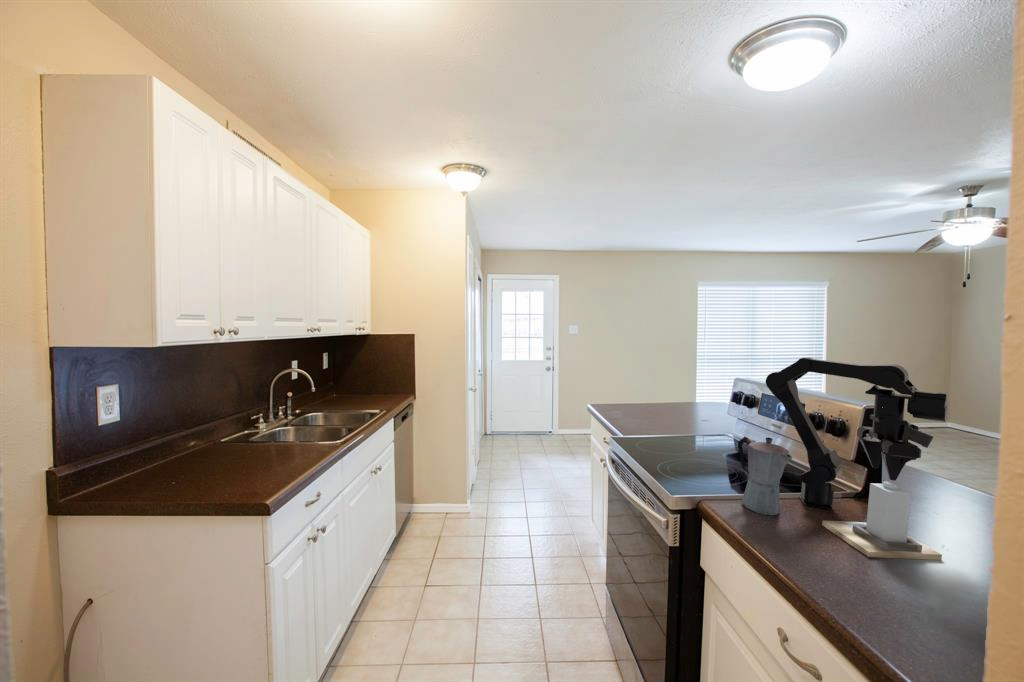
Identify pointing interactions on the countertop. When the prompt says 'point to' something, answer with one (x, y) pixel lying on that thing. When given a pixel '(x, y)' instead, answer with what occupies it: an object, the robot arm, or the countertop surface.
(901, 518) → the white rectangular bottle
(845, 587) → the countertop surface
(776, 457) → the moka pot
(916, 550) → the baseplate
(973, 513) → the countertop surface
